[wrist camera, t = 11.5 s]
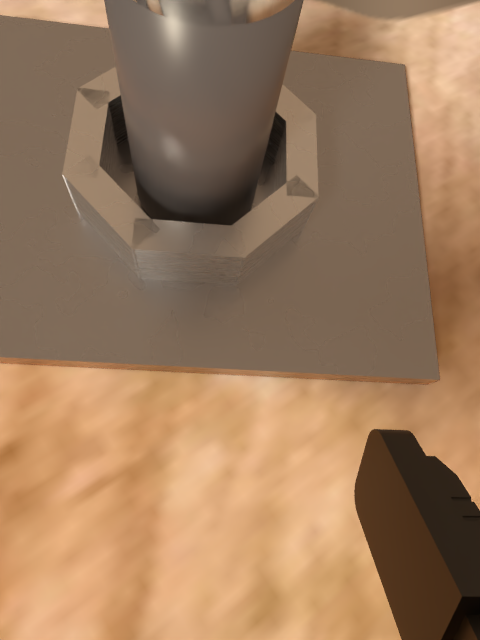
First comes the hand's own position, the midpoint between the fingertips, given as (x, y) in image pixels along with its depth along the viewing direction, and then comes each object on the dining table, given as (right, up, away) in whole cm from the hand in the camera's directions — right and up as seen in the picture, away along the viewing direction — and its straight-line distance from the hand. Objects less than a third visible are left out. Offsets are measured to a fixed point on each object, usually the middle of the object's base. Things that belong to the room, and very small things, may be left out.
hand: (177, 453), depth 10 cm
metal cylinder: (-1, +9, +10) cm, 13 cm away
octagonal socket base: (-1, +8, +11) cm, 14 cm away
